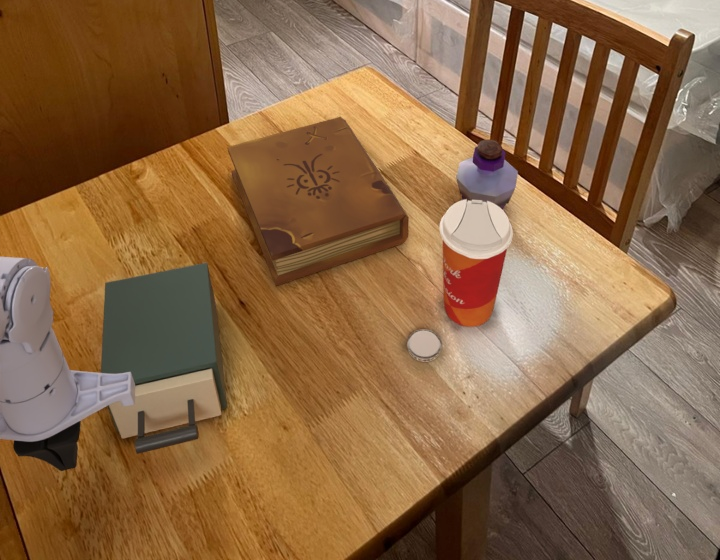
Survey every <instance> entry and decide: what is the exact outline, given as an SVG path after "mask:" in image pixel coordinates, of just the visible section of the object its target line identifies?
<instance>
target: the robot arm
mask: <svg viewBox="0 0 720 560" xmlns="http://www.w3.org/2000/svg"><path fill="white" fill-rule="evenodd" d="M54 315H55V312H54V310H53V307H52V305H51V275H50V270H49V267H48V266H46V267H45V268H44V267H42V266H40V265H38V264H37V262H36V261H35V260H33V259H32V258H27V257H14V256H0V440H7V441H13V445H12V448H13V451H14V453H15V454H16V455H17V457H29V458H34V459H38V460H41V461H44V462H45V463H47V464H49V465H51V466H52V467H54V468H56V469H57V470H58V471H60V472H64V471H68V470H73V469H76V467H77V463H78V451H79V450H78V449H79V447H78V442H79V439H80V434H81V426H82V425H81V423H82V421H83V420H84V419H86V418H88V417H90V416H91V415H93V414H95V413H98V412H99V411H101V410H103V409H105V408H107V406H108V405H110V404H112V403H114V402H118V401H120V402H121V404H122V406H130V405H134V404H135V383H134V380H133V377H132V374H131V372H126V373H120V374H107V373H101V372H93V371H83V370H82V371H81V370H73V369H70V367H69V365H68V362H67V359H66V358H65V355H64V353H63V351H62V348H61V346H60V343H59V341H58V338H57V336H56V333H55V332H54V328H53V327H52V326H53V324H54Z"/></svg>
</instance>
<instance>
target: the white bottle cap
mask: <svg viewBox="0 0 720 560" xmlns="http://www.w3.org/2000/svg"><path fill="white" fill-rule="evenodd" d="M406 349H407V352H408V354H409V355H410V356H411V357H412V359H414V360H416V361H418V362H423V363H427V362H432V361H434V360H436V359H438V357H439V356H440V354H441V352H442V340H441V338H440V336H439V335H438V334H437V333H436V332H434V330H430V329H427V328H421V329H416V330H414V331H413V332H411V333H410V334H409V336H408V338H407V341H406Z"/></svg>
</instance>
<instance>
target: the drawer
mask: <svg viewBox="0 0 720 560" xmlns="http://www.w3.org/2000/svg"><path fill="white" fill-rule="evenodd" d="M109 407H110V409H111V412H112V414H113V417H114V420H115V422H116V425H117V427H118V430H119V432H120V434H119V435H120V437H121V439H122V440H123V439H127V438H131V437H135V436H137V437H136V438H135V439H134V450H135V453H136V454H137V455H139V454H143V453H148V452H151V451H156V450H161V449H163V448H168V447H172V446H176V445H179V444H180V445H181V444H184V443H189V442H192V441H196V440H199V428H198V424H196V422H198V421H202V420H206V419H211V418H214V417H218V416H219V417H220V416H222V409H221V405H220V400H219V396H218V392H217V388H216V383H215V379H214V375H213V370H212V369H210V368H206V369H201V370H197V371H192V372H188V373H184V374H179V375H175V376H170V377H166V378H161V379H157V380H153V381H148V382H144V383H139V384H135V404H134V405H130V406H122V404H121V402H120V401H118V402H114V403H112V404H110V405H109ZM185 424H186V425H187V424H188V425H187V426H182V427H178V428H174V429H169V428H173V427H177V426H181V425H185ZM164 429H169V430H166V431H161V430H164ZM156 431H161V432H157V433H153V432H156ZM147 433H153V434H148V435H146V434H147Z"/></svg>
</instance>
